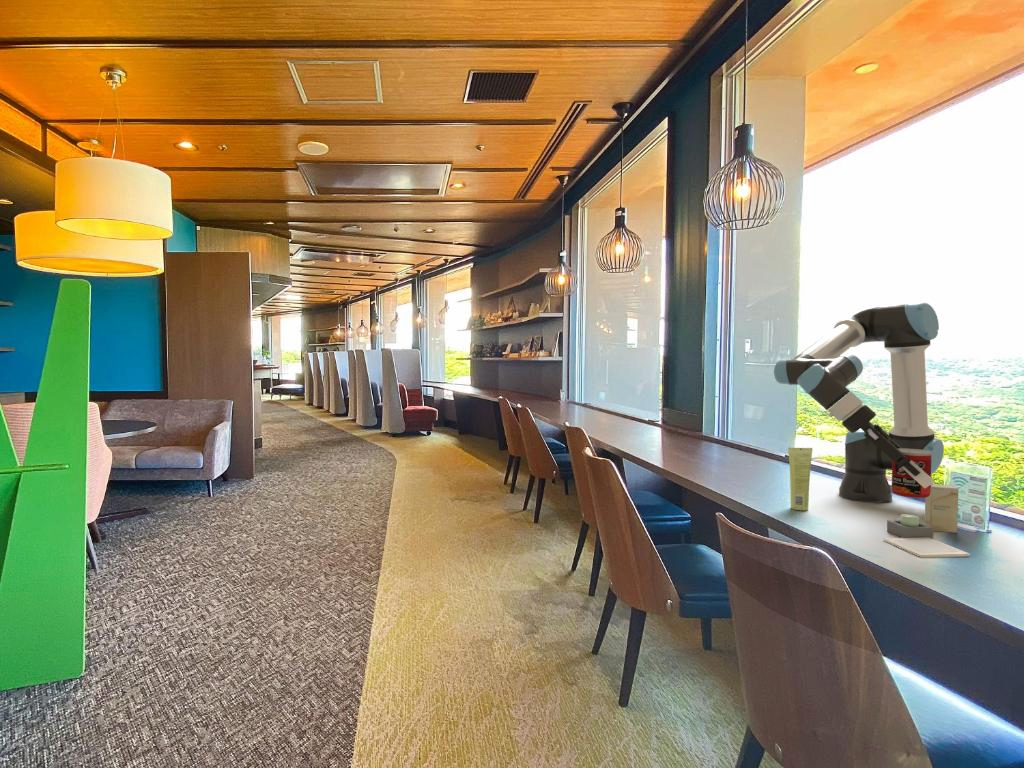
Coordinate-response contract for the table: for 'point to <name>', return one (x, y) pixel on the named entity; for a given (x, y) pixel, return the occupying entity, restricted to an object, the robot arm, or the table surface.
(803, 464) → the tube
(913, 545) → the paper pad
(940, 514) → the skincare box
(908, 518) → the button
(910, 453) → the canned food
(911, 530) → the button box
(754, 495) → the table surface
